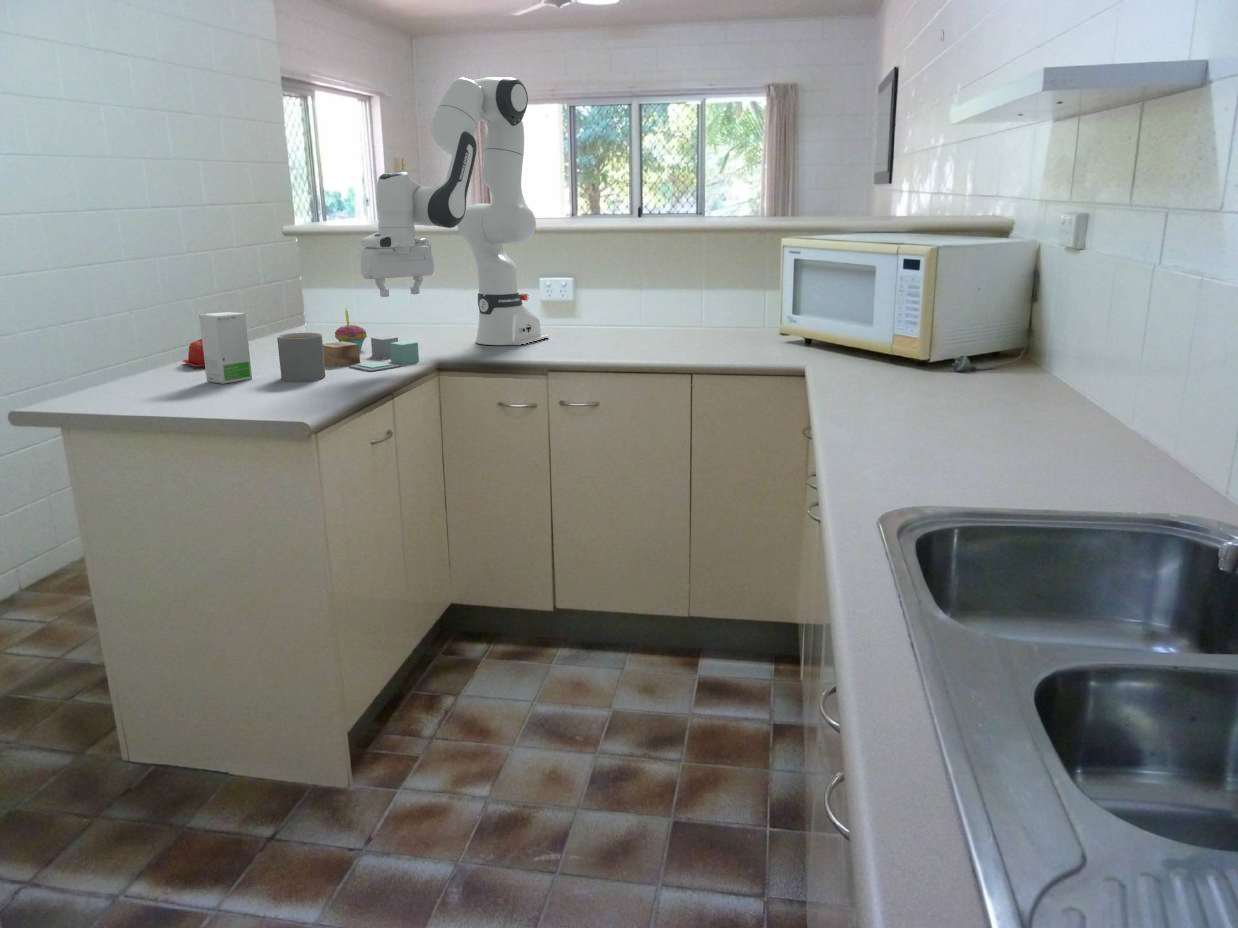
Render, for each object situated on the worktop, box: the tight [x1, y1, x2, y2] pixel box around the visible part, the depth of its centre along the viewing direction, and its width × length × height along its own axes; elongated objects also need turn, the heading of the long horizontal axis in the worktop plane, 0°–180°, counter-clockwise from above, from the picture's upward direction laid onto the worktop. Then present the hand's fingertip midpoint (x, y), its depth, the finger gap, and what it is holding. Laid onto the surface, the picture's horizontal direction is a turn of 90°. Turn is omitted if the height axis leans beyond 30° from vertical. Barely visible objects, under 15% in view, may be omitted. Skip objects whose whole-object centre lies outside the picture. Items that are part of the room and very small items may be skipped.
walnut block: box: [323, 341, 361, 367], centre depth 240 cm, size 7×7×5 cm
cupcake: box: [334, 308, 367, 352], centre depth 257 cm, size 9×8×12 cm
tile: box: [348, 360, 402, 373], centre depth 234 cm, size 9×9×1 cm
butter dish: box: [181, 338, 205, 369], centre depth 237 cm, size 12×12×8 cm
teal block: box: [390, 340, 420, 365], centre depth 242 cm, size 5×5×5 cm
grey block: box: [370, 335, 399, 359], centre depth 250 cm, size 5×5×5 cm
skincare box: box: [198, 311, 253, 385], centre depth 216 cm, size 8×7×16 cm
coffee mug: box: [277, 332, 326, 383], centre depth 222 cm, size 13×10×10 cm
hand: (400, 295), depth 237 cm, fingers open, 8 cm apart
